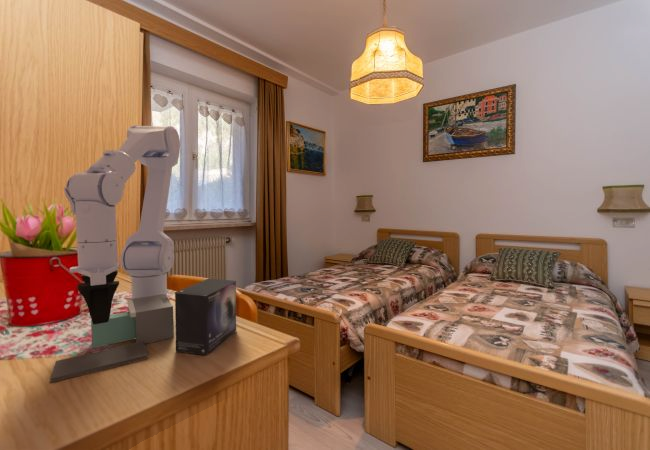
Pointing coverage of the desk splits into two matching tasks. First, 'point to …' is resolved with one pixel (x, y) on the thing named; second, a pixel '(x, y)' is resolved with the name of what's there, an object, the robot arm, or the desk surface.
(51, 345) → the desk surface
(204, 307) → the small box
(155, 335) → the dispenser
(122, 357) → the mat
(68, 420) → the desk surface
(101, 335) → the green block
